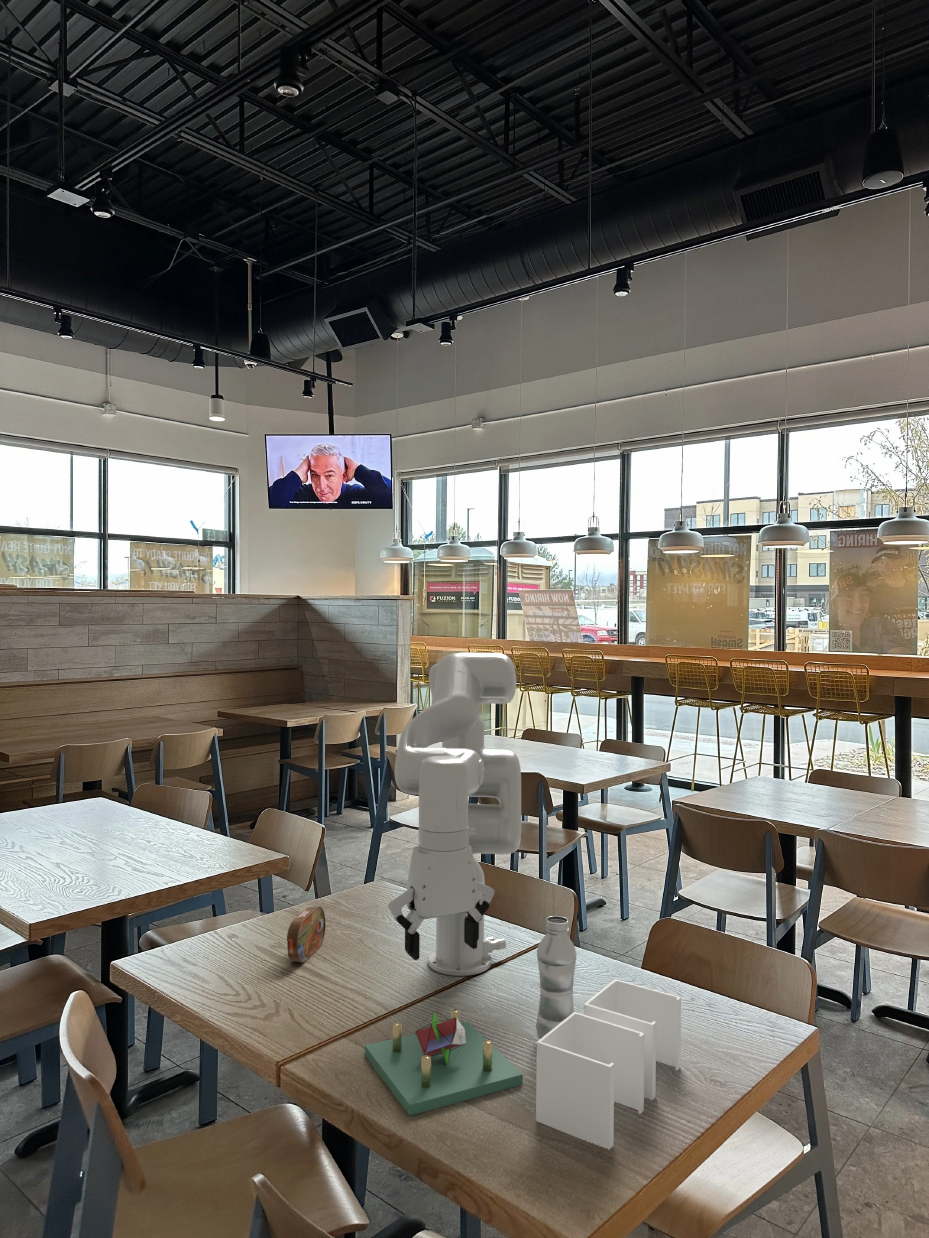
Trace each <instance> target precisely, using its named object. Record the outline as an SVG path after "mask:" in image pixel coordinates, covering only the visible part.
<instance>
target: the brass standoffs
mask: <svg viewBox="0 0 929 1238" xmlns="http://www.w3.org/2000/svg"><path fill="white" fill-rule="evenodd" d="M460 1012H461V1011H460V1010H459V1009H451V1010H450V1019H451V1018H456V1017H457V1019H458V1020H459V1022H460V1021H461V1020H460V1014H461V1013H460ZM402 1028H403V1023H402V1022H400V1021H396V1022H393V1023H392V1039H393V1052H400V1051H401V1050H402V1037H403V1029H402ZM492 1046H493V1041H492V1040H490V1039H486V1040H485V1041H483V1070H484V1071H486V1072H490V1071H492ZM421 1086H422V1087H423V1088H429V1087H430V1086H431V1056H429V1055H423V1056H422V1057H421Z"/></svg>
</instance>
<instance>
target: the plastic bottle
mask: <svg viewBox="0 0 929 1238" xmlns="http://www.w3.org/2000/svg"><path fill="white" fill-rule="evenodd" d="M544 931H545V932H546V933H545V935H544V936H543V937H542V939H541V940H540V942H539V943H538V945H537V949H536V958H537V965H538V972H539V974H538V975H539V988H540V989H539V990H540V991H539V1001H538V1002H539V1003H538V1004H539V1005H538V1012H537V1016H536V1017H537V1018H536V1025H535V1028H536V1034H537V1038H538V1041H539V1040H540V1039H541V1038H542V1037H544V1036H545V1035H546V1034H547V1033H549V1032H550V1031H551V1030H552V1029H554V1028H555V1027H556V1026H557V1025H559V1024H560V1023H561V1022H562V1021H564V1020H565V1019H566V1018H567V1017H569V1016H570V1015H571V1014H572V1013H574V1012H575V1008H574V995H573V993H574V979H575V977H574V976H575V970H576V962H577V950H576V947H575V945H574V943H573V941H572V940H571V938H570V937H569V936H568V933H569V932H570V927H569V919H568V918H567V917H564V916H559V915H551V916H547V917H546V918H545V926H544Z"/></svg>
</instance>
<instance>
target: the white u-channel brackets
mask: <svg viewBox="0 0 929 1238" xmlns="http://www.w3.org/2000/svg"><path fill="white" fill-rule="evenodd" d="M681 1030H682V996H677V995H675V994H672V993H668V992H663V991H660V990H656V989H653V988H650V987H645V986H642V985H638V984H635V983H632V982H627V981H623V980H619V979H616V978H614V979H613V980H612V981H610V983H608V984H607V985H605V987H603V988H602V989H601V990H600V991H598V992H597V993H596V994H595V995H593V996H592V997H591V998H590V999H588V1000H587V1001H586V1002H585V1003H584V1004H583V1013H579V1012H577V1011H574V1013H572V1014H571V1015H570V1016H569V1017H567V1018H566V1019H565V1020H564V1021H562V1022H561V1023H560V1024H559V1025H557V1026H556V1027H555V1028H554V1029H552V1030H551V1031H550V1032H549V1033H547V1034H546V1035H545V1036H544V1037H542V1038H541V1039H540V1040H539V1039H538V1040H537V1041H536V1071H535V1072H536V1079H535V1081H536V1082H535V1084H536V1089H535V1091H536V1092H535V1094H536V1095H535V1110H536V1111H535V1121H536V1122H537V1123H540V1124H543V1125H545V1126H548V1127H550V1128H553V1129H555V1130H558V1131H560V1132H563V1133H565V1134H568V1135H570V1136H573V1137H575V1138H578V1139H580V1140H583V1141H585V1140H586V1141H585V1142H588V1143H590V1142H591V1143H590V1144H592V1143H594V1144H593V1145H595V1144H596V1145H595V1146H597V1145H599V1146H598V1147H600V1146H601V1147H600V1148H602V1147H605V1148H608V1149H610V1148H611V1147H612V1146H613V1147H614V1138H615V1137H614V1131H615V1130H614V1126H615V1124H614V1121H615V1120H614V1119H615V1118H614V1117H615V1116H614V1115H615V1113H614V1112H615V1111H614V1110H615V1108H614V1107H615V1104H614V1103H618V1104H620V1105H623V1106H625V1107H628V1108H632V1109H634V1110H637V1114H639V1115H641V1114H642V1113H643V1112H644V1109H645V1099H648V1100H650V1101H653V1100H654V1099H655V1098H656V1078H657V1077H656V1074H657V1073H656V1069H657V1067H656V1066H657V1064H656V1063H657V1062H659V1063H661V1064H665V1065H666V1066H671V1067H674V1068H675V1069H674V1070H675V1071H677V1072H678V1071H679V1070H680V1069H681V1061H682V1060H681V1058H682V1057H681V1055H682V1053H681V1049H682V1046H681V1045H682V1043H681V1042H682V1040H681V1039H682V1038H681V1037H682V1034H681V1033H682V1032H681ZM613 1147H612V1148H613ZM605 1148H604V1149H605ZM612 1148H611V1149H612Z"/></svg>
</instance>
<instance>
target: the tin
mask: <svg viewBox="0 0 929 1238" xmlns="http://www.w3.org/2000/svg"><path fill="white" fill-rule="evenodd" d="M325 934H326V915H325V911H324V908H323V907H322V906H319V905H318V906H308V907H306V908H305V909H304V910H303V911H302V912H301V913H300V914H298V915H297V917H295V918H294V919H293V920H292V922H290V925H289V927H288V930H287V933H286V935H287V936H286V941H287V942H286V943H287V946H286V947H287V956H288V959H289V960H290V962H294V963H303V964H304V963H306V961H307V960H308V961H309V960H310V958H312V956H313V955H314V954H315V953H316V952H317V951H318V950H319V949H320V948H321V947H322V945H323V942H324V939H325ZM308 961H307V962H308Z"/></svg>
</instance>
